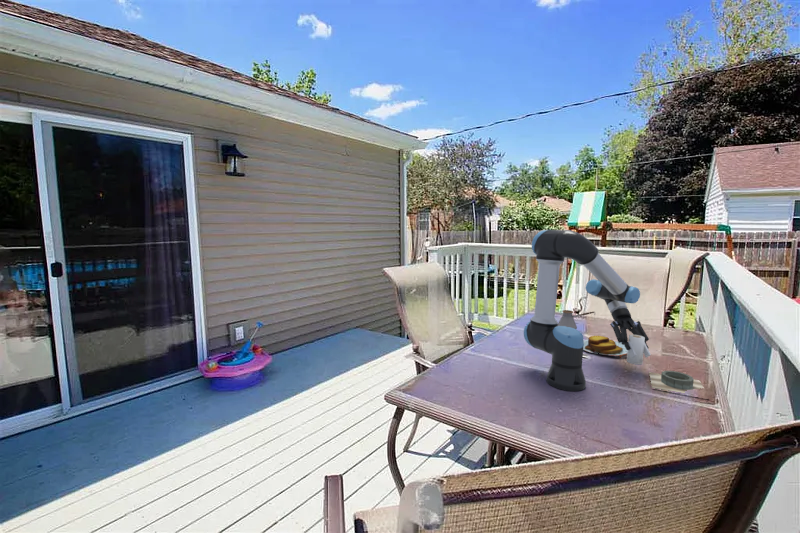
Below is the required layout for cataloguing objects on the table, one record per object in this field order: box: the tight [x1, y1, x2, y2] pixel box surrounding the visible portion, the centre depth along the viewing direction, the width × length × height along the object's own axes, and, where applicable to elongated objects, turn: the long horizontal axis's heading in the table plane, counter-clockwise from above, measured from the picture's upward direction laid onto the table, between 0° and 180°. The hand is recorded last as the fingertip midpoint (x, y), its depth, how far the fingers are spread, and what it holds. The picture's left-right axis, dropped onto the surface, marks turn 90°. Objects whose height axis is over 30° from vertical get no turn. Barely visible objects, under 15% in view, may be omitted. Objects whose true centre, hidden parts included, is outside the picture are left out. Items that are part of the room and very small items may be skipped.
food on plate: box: [583, 335, 628, 359], centre depth 195 cm, size 25×25×7 cm
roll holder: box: [648, 370, 705, 393], centre depth 151 cm, size 18×18×4 cm
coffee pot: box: [558, 309, 596, 330], centre depth 226 cm, size 21×12×15 cm, turn 49°
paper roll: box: [626, 334, 645, 366], centre depth 163 cm, size 6×6×12 cm
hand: (641, 356), depth 160 cm, fingers closed on paper roll, 6 cm apart
